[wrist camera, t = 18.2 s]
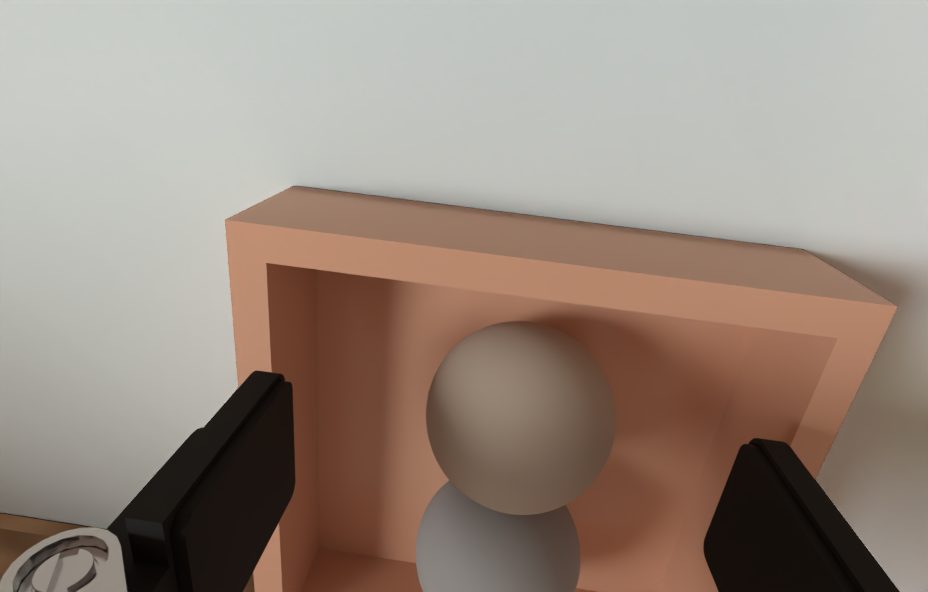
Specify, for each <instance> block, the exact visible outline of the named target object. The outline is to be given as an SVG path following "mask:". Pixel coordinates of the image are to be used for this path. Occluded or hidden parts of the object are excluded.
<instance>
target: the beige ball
mask: <svg viewBox="0 0 928 592" xmlns="http://www.w3.org/2000/svg"><path fill="white" fill-rule="evenodd" d="M426 426H427V433H428V438H429V442H430V445H431V448H432V451H433V454H434V456H435V458H436V460H437V462H438V464H439V466H440V468H441V469H442V471H443V472H444V474H445V475H446V477H447V478H448V479H449V480H450V481H451V482H452V484H453V485H454V486H455V487H456V488H457V489H459V490H460V491H461V492H462V493H463V494H464V495H466V496H467V497H468V498H470V499H471V500H473V501H475V502H477V503H479V504H480V505H482V506H484V507H487V508H489V509H492V510H495V511H498V512H501V513H507V514H514V515H532V514H540V513H544V512H548V511H551V510H554V509H557V508H559V507H561V506H564V505H566V504H568V503H569V502H571V501H573V500H574V499H576V498H577V497H578V496H580V495H581V494H582V493H584V492H585V491H586V490H587V489H588V488H589V487H590V485H591V484H592V483H593V482H594V481H595V480H596V478H597V477H598V476H599V474H600V473H601V471H602V469H603V468H604V466H605V464H606V462H607V460H608V458H609V455H610V452H611V450H612V446H613V442H614V437H615V430H616V411H615V404H614V399H613V394H612V391H611V388H610V385H609V383H608V380H607V378H606V376H605V374H604V372H603V370H602V368H601V367H600V365H599V364H598V363H597V361H596V360H595V358H594V357H593V356H592V355H591V354H590V353H589V352H588V350H587V349H586V348H585V347H584V346H582V345H581V344H580V343H579V342H578V341H576V340H575V339H573V338H572V337H570V336H569V335H567V334H566V333H564V332H562V331H560V330H558V329H556V328H553V327H551V326H547V325H544V324H540V323H535V322H528V321H509V322H503V323H497V324H493V325H490V326H487V327H484V328H482V329H480V330H477V331H476V332H474V333H472V334H471V335H469V336H467V337H466V338H465V339H463V340H462V341H461V342H460V343H458V344H457V345H456V346H455V347H454V348H453V349H452V350H451V351H450V352H449V353H448V355H447V356H446V357H445V359H444V360H443V361H442V363H441V364H440V366H439V368H438V369H437V371H436V373H435V375H434V378H433V380H432V383H431V386H430V389H429V392H428V398H427V405H426Z"/></svg>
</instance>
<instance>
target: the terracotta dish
mask: <svg viewBox="0 0 928 592" xmlns="http://www.w3.org/2000/svg"><path fill="white" fill-rule="evenodd" d="M225 226H226V239H227V251H228V264H229V276H230V289H231V301H232V314H233V326H234V339H235V351H236V364H237V376H238V388H239V387H240V386H241V384H242V383H243V382H244V381H245V380H246V379H247V378H248V376H249V375H250V374H251V373H252V372H253V371H256V370H257V371H265V372H272V373H280V374H283V375H284V378H285V381H287V382H291V383H292V387H293V414H294V446H295V478H296V481H295V488H294V492H293V496H292V498H291V500H290V502H289V504H288V506H287V508H286V510H285V512H284V514H283V516H282V517H281V519H280V521H279V523H278V525H277V527H276V529H275V531H274V533H273V535H272V537H271V539H270V541H269V542H268V544H267V546H266V548H265V550H264V552H263V554H262V556H261V558H260V560H259V562H258V564H257V566H256V567H255V569H254V571H253V576H254V589H255V592H423V590H422V587H421V585H420V582H419V577H418V573H417V567H416V539H417V534H418V529H419V525H420V522H421V519H422V517H423V514H424V512H425V510H426V508H427V506H428V504H429V503H430V501H431V499H432V498H433V497H434V495H435V494H436V493H437V492H438V490H439V489H440V488H441V487H442V486H443V485H444V484H446V483H447V482H448V481H449V479H448V478H447V477H446V475H445V474H444V472H443V471H442V469H441V468H440V466H439V464H438V462H437V460H436V458H435V456H434V454H433V451H432V448H431V445H430V442H429V438H428V433H427V426H426V405H427V398H428V392H429V389H430V386H431V383H432V380H433V378H434V375H435V373H436V371H437V369H438V368H439V366H440V364H441V363H442V361H443V360H444V359H445V357H446V356H447V355H448V353H449V352H450V351H451V350H452V349H453V348H454V347H455V346H456V345H457V344H458V343H460V342H461V341H462V340H463V339H465V338H466V337H467V336H469V335H471V334H472V333H474V332H476V331H477V330H480V329H482V328H484V327H487V326H490V325H493V324H497V323H503V322H509V321H528V322H535V323H540V324H544V325H547V326H551V327H553V328H556V329H558V330H560V331H562V332H564V333H566V334H567V335H569V336H570V337H572V338H573V339H575V340H576V341H578V342H579V343H580V344H581V345H582V346H584V347H585V348H586V349H587V350H588V352H589V353H590V354H591V355H592V356H593V357H594V358H595V360H596V361H597V363H598V364H599V365H600V367H601V368H602V370H603V372H604V374H605V376H606V378H607V380H608V383H609V385H610V388H611V391H612V394H613V399H614V404H615V411H616V430H615V437H614V442H613V446H612V450H611V452H610V455H609V458H608V460H607V462H606V464H605V466H604V468H603V469H602V471H601V473H600V474H599V476H598V477H597V478H596V480H595V481H594V482H593V483H592V484H591V485H590V487H589V488H588V489H587V490H586V491H585V492H584V493H582V494H581V495H580V496H578V497H577V498H576V499H574V500H573V501H571V502H569V503H568V504H566V506H567V508H568V510H569V512H570V514H571V516H572V518H573V521H574V523H575V526H576V529H577V533H578V537H579V543H580V552H581V564H580V574H579V579H578V584H577V588H576V590H575V592H718V589H717V587H716V584H715V582H714V579H713V577H712V574H711V572H710V570H709V567H708V565H707V562H706V560H705V556H704V551H703V544H704V538H705V536H706V533H707V531H708V528H709V525H710V523H711V520H712V518H713V515H714V513H715V510H716V507H717V505H718V502H719V500H720V497H721V495H722V492H723V489H724V487H725V484H726V482H727V479H728V477H729V474H730V471H731V469H732V466H733V464H734V461H735V459H736V456H737V454H738V451H739V449H740V447H741V446H742V445H743V444H748V443H749V441H751V440H752V439H753V438H760V439H768V440H775V441H783V442H785V443H787V444H788V445H789V446H790V447H791V448H792V450H793V451H794V452H795V454H796V455H797V456H798V458H799V459H800V460H801V462H802V463H803V464H804V466H805V467H806V468H807V470H808V471H809V472H810V474H811V475H812V476H813V478H814V479H815V478H816V476H817V474H818V472H819V470H820V468H821V466H822V464H823V462H824V460H825V458H826V456H827V453H828V451H829V449H830V447H831V445H832V443H833V441H834V439H835V437H836V435H837V433H838V431H839V428H840V426H841V424H842V422H843V420H844V418H845V416H846V414H847V412H848V410H849V408H850V405H851V403H852V401H853V399H854V397H855V395H856V393H857V391H858V389H859V387H860V385H861V383H862V380H863V378H864V376H865V374H866V372H867V370H868V368H869V366H870V364H871V362H872V360H873V357H874V355H875V353H876V351H877V349H878V347H879V345H880V343H881V341H882V339H883V337H884V335H885V332H886V330H887V328H888V326H889V324H890V322H891V320H892V318H893V316H894V314H895V312H896V309H897V307H898V306H896V305H895V304H893V303H891V302H890V301H888V300H886V299H885V298H883V297H881V296H880V295H878V294H876V293H875V292H873V291H871V290H870V289H868V288H866V287H865V286H863V285H861V284H860V283H858V282H857V281H855V280H853V279H852V278H850V277H848V276H847V275H845V274H843V273H842V272H840V271H838V270H837V269H835V268H833V267H832V266H830V265H828V264H827V263H825V262H823V261H822V260H820V259H818V258H817V257H815V256H813V255H812V254H810V253H809V252H807V251H805V250H804V249H796V248H788V247H780V246H772V245H764V244H756V243H748V242H740V241H732V240H724V239H716V238H708V237H700V236H692V235H684V234H676V233H668V232H660V231H652V230H644V229H636V228H628V227H620V226H612V225H604V224H596V223H588V222H580V221H572V220H564V219H556V218H548V217H540V216H532V215H524V214H516V213H508V212H500V211H492V210H484V209H476V208H469V207H461V206H453V205H445V204H437V203H429V202H421V201H413V200H405V199H397V198H389V197H381V196H373V195H365V194H357V193H349V192H341V191H333V190H325V189H317V188H309V187H301V186H292V187H290V188H288V189H286V190H284V191H282V192H280V193H278V194H276V195H274V196H272V197H270V198H268V199H266V200H264V201H262V202H260V203H258V204H256V205H254V206H252V207H250V208H248V209H246V210H244V211H242V212H240V213H238V214H236V215H234V216H232V217H230V218H228V219H226V220H225Z"/></svg>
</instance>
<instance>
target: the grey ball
mask: <svg viewBox="0 0 928 592" xmlns="http://www.w3.org/2000/svg"><path fill="white" fill-rule="evenodd" d="M580 564H581V552H580V543H579V537H578V533H577V529H576V526H575V523H574V521H573V518H572V516H571V514H570V512H569V510H568V508H567V506H566V505H564V506H561V507H559V508H557V509H554V510H551V511H548V512H544V513H540V514H532V515H514V514H507V513H501V512H498V511H495V510H492V509H489V508H487V507H484V506H482V505H480V504H479V503H477V502H475V501H473V500H471V499H470V498H468V497H467V496H466V495H464V494H463V493H462V492H461V491H460V490H459V489H457V488H456V487H455V486H454V485H453V484H452V482H451V481H450V480H449V481H448V482H447V483H446V484H444V485H443V486H442V487H441V488H440V489H439V490H438V492H437V493H436V494H435V495H434V497H433V498H432V499H431V501H430V503H429V504H428V506H427V508H426V510H425V512H424V514H423V517H422V519H421V522H420V525H419V529H418V534H417V539H416V567H417V573H418V577H419V582H420V585H421V587H422V590H423V592H575V590H576V588H577V584H578V579H579V574H580Z"/></svg>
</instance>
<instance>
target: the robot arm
mask: <svg viewBox="0 0 928 592" xmlns="http://www.w3.org/2000/svg"><path fill="white" fill-rule="evenodd" d="M295 481H296V478H295V446H294V414H293V387H292V383H291V382H287V381H285V378H284V375H283V374H280V373H272V372H265V371H257V370H256V371H253V372H252V373H251V374H250V375H249V376H248V378H247V379H246V380H245V381H244V382H243V383H242V384H241V386H240V387H239V388H238V389H237V390H236V391H235V392H234V394H233V395H232V396H231V397H230V398H229V399H228V400H227V402H226V403H225V404H224V405H223V406H222V407H221V408H220V410H219V411H218V412H217V413H216V414H215V415H214V416H213V418H212V419H211V420H210V421H209V422H208V423H207V424H206V426H205V427H204V428H200V429H197V430H196V431H195V432H193V433H192V434H191V435H190V436H189V437H188V439H187V440H186V441H185V442H184V443H183V444H182V445H181V446H180V448H179V449H178V450H177V451H176V452H175V453H174V454H173V455H172V457H171V458H170V459H169V460H168V461H167V462H166V463H165V464H164V465H163V467H162V468H161V469H160V470H159V471H158V472H157V473H156V474H155V476H154V477H153V478H152V479H151V480H150V481H149V482H148V483H147V485H146V486H145V487H144V488H143V489H142V490H141V491H140V492H139V493H138V495H137V496H136V497H135V498H134V499H133V500H132V501H131V502H130V504H129V505H128V506H127V507H126V508H125V509H124V510H123V511H122V513H121V514H120V515H119V516H118V517H117V518H116V519H115V520H114V521H113V523H112V524H111V525H110V526H109V527H108V528H107V529H106V530H105V529H100V528H96V527H90V528H77V529H73V530H68V531H64V532H61V533H58V534H56V535H54V536H51V537H49V538H46V539H44V540H42V541H41V542H39V543H37V544H36V545H34V546H33V547H31V548H29V549H28V550H26V551H25V552H24V553H23V554H22V555H21V556H19V557H18V558H17V559H16V560H15V561H14V562H13V563H12V564H11V565H10V567H9V568H8V569H7V571H6V572H5V573H4V575H3V576H2V579H1V582H0V592H243V591H244V589H245V587H246V585H247V583H248V581H249V579H250V577H251V575H252V573H253V571H254V569H255V567H256V566H257V564H258V562H259V560H260V558H261V556H262V554H263V552H264V550H265V548H266V546H267V544H268V542H269V541H270V539H271V537H272V535H273V533H274V531H275V529H276V527H277V525H278V523H279V521H280V519H281V517H282V516H283V514H284V512H285V510H286V508H287V506H288V504H289V502H290V500H291V498H292V496H293V492H294V488H295ZM703 551H704V556H705V560H706V562H707V565H708V567H709V570H710V572H711V574H712V577H713V579H714V582H715V584H716V587H717V589H718V592H899V590H898V589H897V588H896V586H895V585H894V584H893V582H892V581H891V580H890V578H889V577H888V576H887V574H886V573H885V572H884V570H883V569H882V568H881V566H880V565H879V564H878V562H877V561H876V560H875V558H874V557H873V556H872V555H871V553H870V552H869V551H868V549H867V548H866V547H865V545H864V544H863V543H862V541H861V540H860V539H859V537H858V536H857V535H856V533H855V532H854V531H853V529H852V528H851V527H850V525H849V524H848V523H847V521H846V520H845V519H844V517H843V516H842V515H841V513H840V512H839V511H838V509H837V508H836V507H835V505H834V504H833V503H832V501H831V500H830V499H829V497H828V496H827V495H826V494H825V492H824V491H823V490H822V488H821V487H820V486H819V484H818V483H817V482H816V480H815V479H814V478H813V476H812V475H811V474H810V472H809V471H808V470H807V468H806V467H805V466H804V464H803V463H802V462H801V460H800V459H799V458H798V456H797V455H796V454H795V452H794V451H793V450H792V448H791V447H790V446H789V445H788V444H787V443H785V442H783V441H775V440H768V439H760V438H753V439H752V440H751V441H749V443H748V444H743V445H742V446H741V447H740V449H739V451H738V454H737V456H736V459H735V461H734V464H733V466H732V469H731V471H730V474H729V477H728V479H727V482H726V484H725V487H724V489H723V492H722V495H721V497H720V500H719V502H718V505H717V507H716V510H715V513H714V515H713V518H712V520H711V523H710V525H709V528H708V531H707V533H706V536H705V538H704V544H703Z"/></svg>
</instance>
